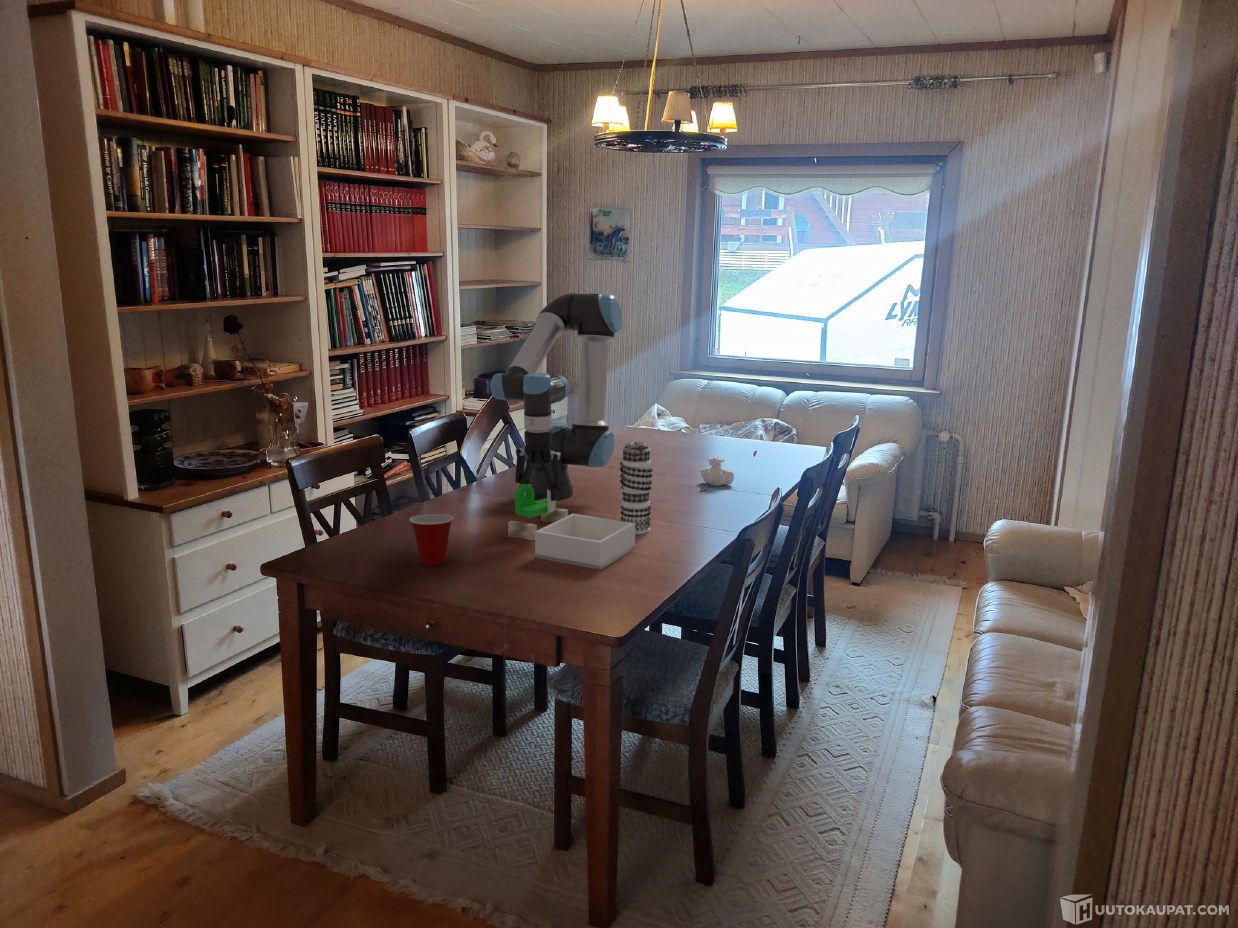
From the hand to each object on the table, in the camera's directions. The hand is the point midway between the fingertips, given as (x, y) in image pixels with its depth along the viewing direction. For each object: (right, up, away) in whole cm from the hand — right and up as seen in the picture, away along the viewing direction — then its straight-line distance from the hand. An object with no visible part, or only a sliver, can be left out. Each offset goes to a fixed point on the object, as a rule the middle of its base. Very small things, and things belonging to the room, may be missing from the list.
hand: (539, 509), depth 254 cm
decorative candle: (+27, -6, +1) cm, 28 cm away
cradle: (0, -6, +1) cm, 6 cm away
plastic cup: (-24, -12, -28) cm, 39 cm away
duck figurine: (+56, +5, +53) cm, 77 cm away
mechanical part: (0, -1, 0) cm, 1 cm away
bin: (+14, -10, -19) cm, 26 cm away
